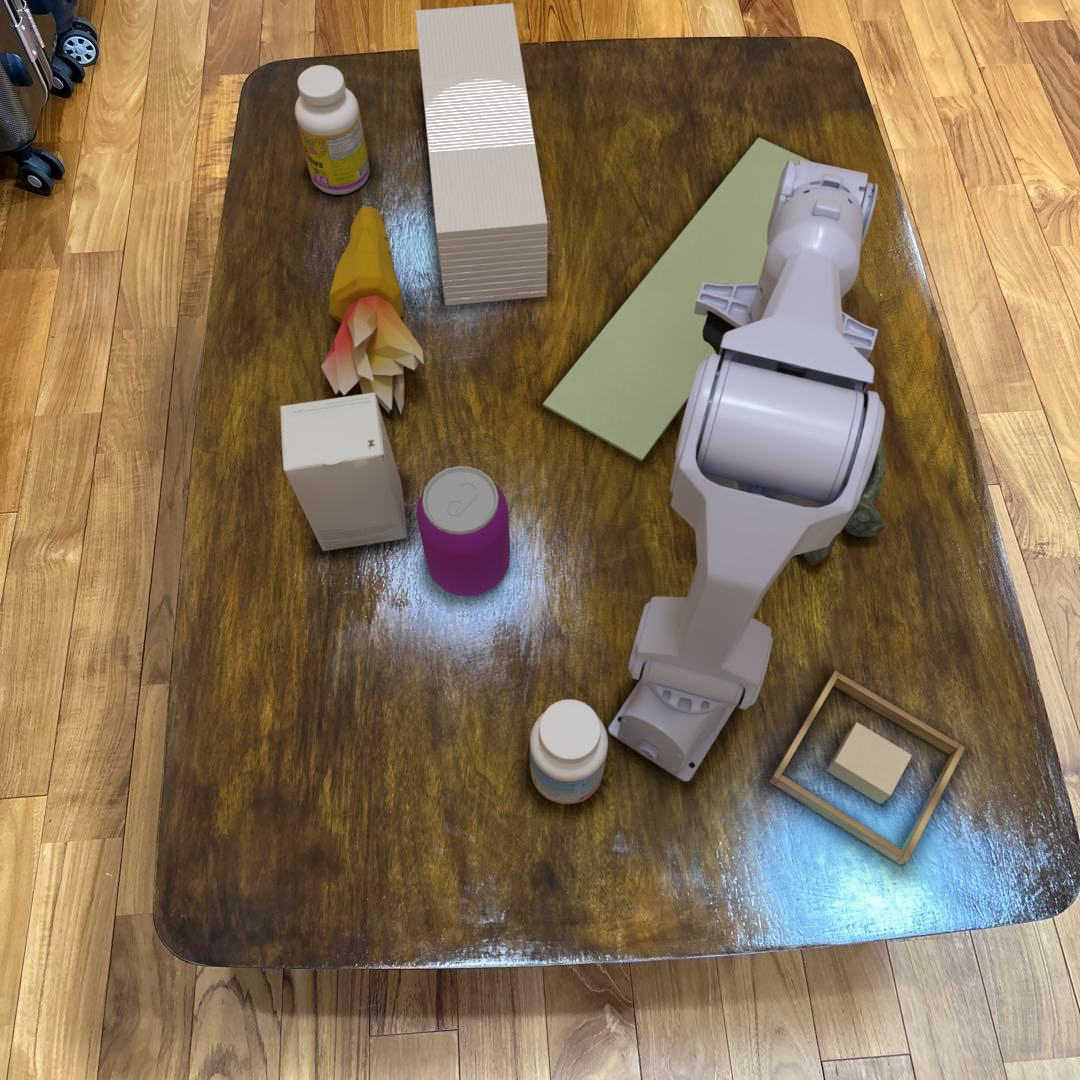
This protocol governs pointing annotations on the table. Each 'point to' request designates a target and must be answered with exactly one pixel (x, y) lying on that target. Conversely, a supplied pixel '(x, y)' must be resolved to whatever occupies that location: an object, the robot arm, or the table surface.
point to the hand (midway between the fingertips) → (767, 370)
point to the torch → (369, 317)
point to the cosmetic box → (343, 471)
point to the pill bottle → (568, 752)
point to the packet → (869, 763)
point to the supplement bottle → (331, 131)
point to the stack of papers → (482, 155)
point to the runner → (672, 313)
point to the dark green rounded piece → (861, 510)
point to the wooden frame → (904, 721)
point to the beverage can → (464, 531)
